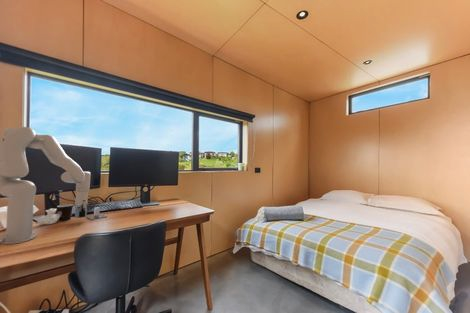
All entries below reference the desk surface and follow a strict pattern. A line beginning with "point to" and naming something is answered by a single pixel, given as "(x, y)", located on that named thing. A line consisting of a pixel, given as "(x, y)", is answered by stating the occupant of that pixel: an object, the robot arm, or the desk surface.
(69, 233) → the desk surface
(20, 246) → the desk surface
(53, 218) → the duck figurine
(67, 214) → the coffee mug
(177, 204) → the desk surface
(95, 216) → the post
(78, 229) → the desk surface
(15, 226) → the robot arm
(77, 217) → the cap
